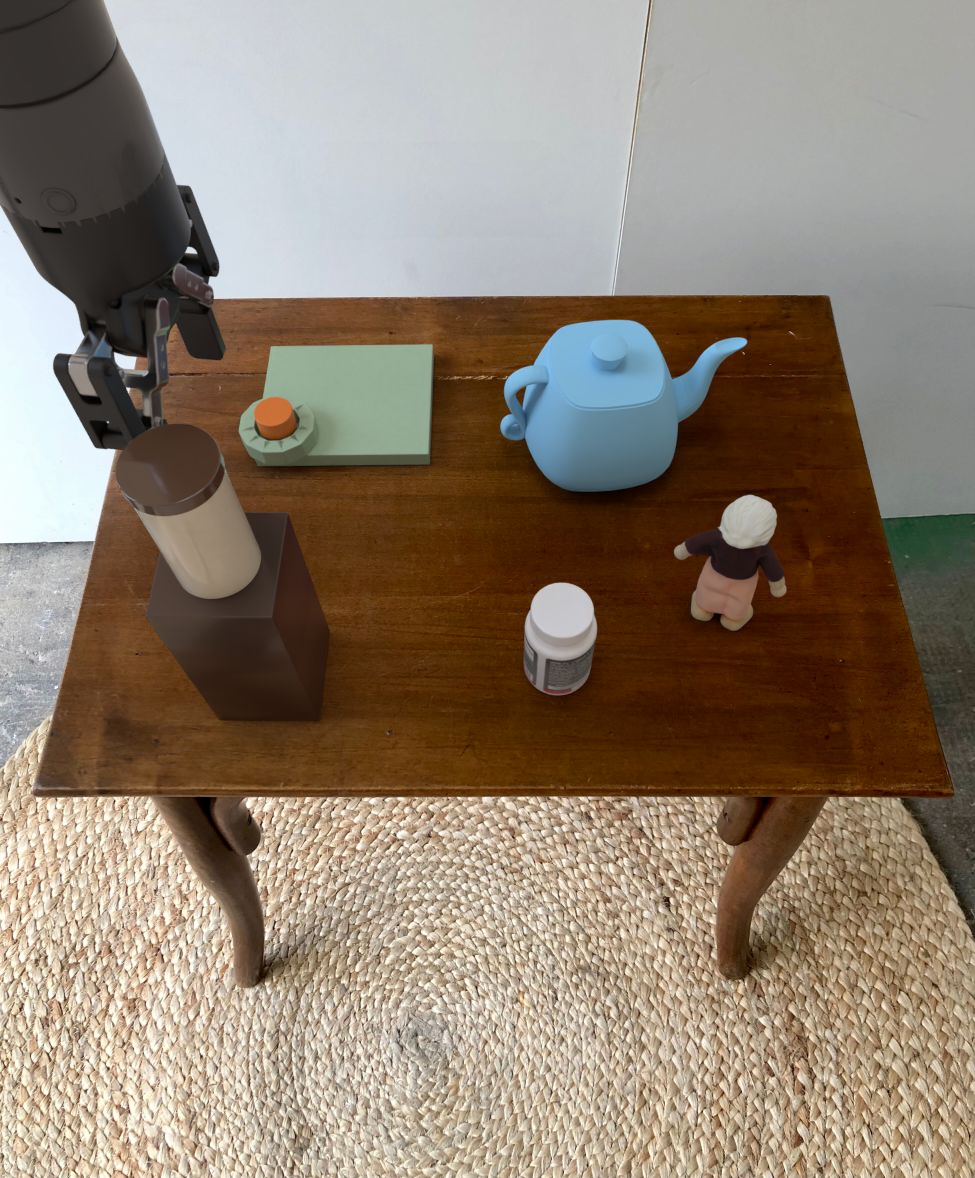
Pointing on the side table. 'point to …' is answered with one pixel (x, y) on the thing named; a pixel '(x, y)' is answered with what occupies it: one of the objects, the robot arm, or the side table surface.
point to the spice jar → (190, 508)
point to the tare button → (275, 418)
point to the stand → (251, 633)
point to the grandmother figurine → (735, 562)
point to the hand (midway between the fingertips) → (188, 408)
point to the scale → (348, 406)
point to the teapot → (605, 404)
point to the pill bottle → (559, 639)
